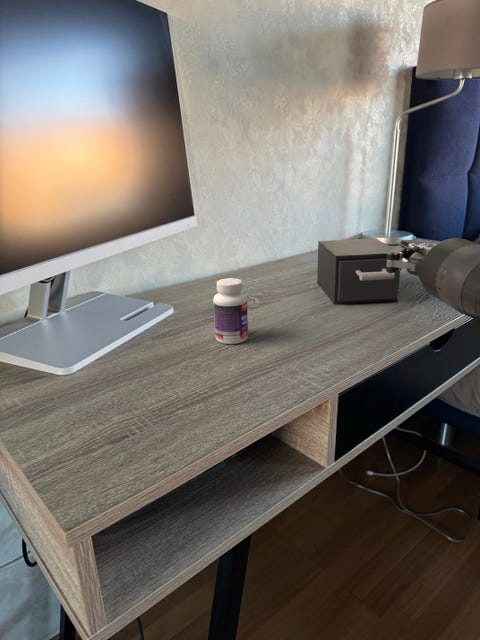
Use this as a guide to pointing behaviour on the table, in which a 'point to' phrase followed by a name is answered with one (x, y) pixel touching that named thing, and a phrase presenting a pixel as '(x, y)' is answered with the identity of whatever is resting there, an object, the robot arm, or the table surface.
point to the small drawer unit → (345, 250)
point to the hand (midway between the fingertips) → (405, 246)
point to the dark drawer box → (366, 280)
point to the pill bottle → (230, 312)
